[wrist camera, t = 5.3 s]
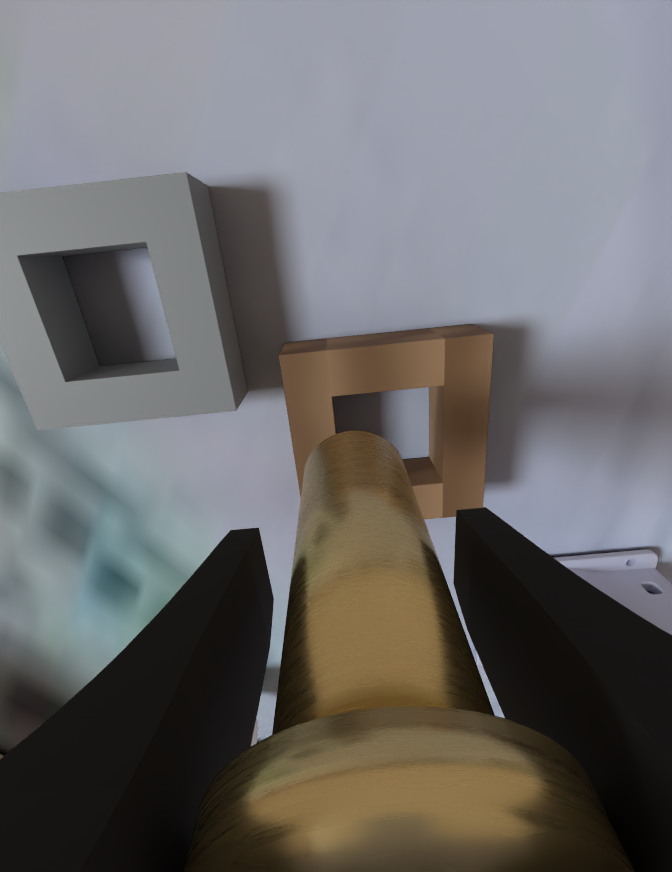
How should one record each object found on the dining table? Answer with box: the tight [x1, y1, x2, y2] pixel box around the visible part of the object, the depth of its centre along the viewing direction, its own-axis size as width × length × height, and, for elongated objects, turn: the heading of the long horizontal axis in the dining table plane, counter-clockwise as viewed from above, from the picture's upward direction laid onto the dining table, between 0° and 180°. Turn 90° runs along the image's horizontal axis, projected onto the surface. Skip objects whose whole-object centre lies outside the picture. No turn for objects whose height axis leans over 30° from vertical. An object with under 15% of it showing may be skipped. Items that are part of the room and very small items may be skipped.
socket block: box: [0, 172, 248, 430], centre depth 15 cm, size 8×8×2 cm
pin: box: [184, 431, 635, 872], centre depth 8 cm, size 4×4×9 cm
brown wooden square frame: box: [279, 324, 494, 519], centre depth 18 cm, size 8×8×2 cm
